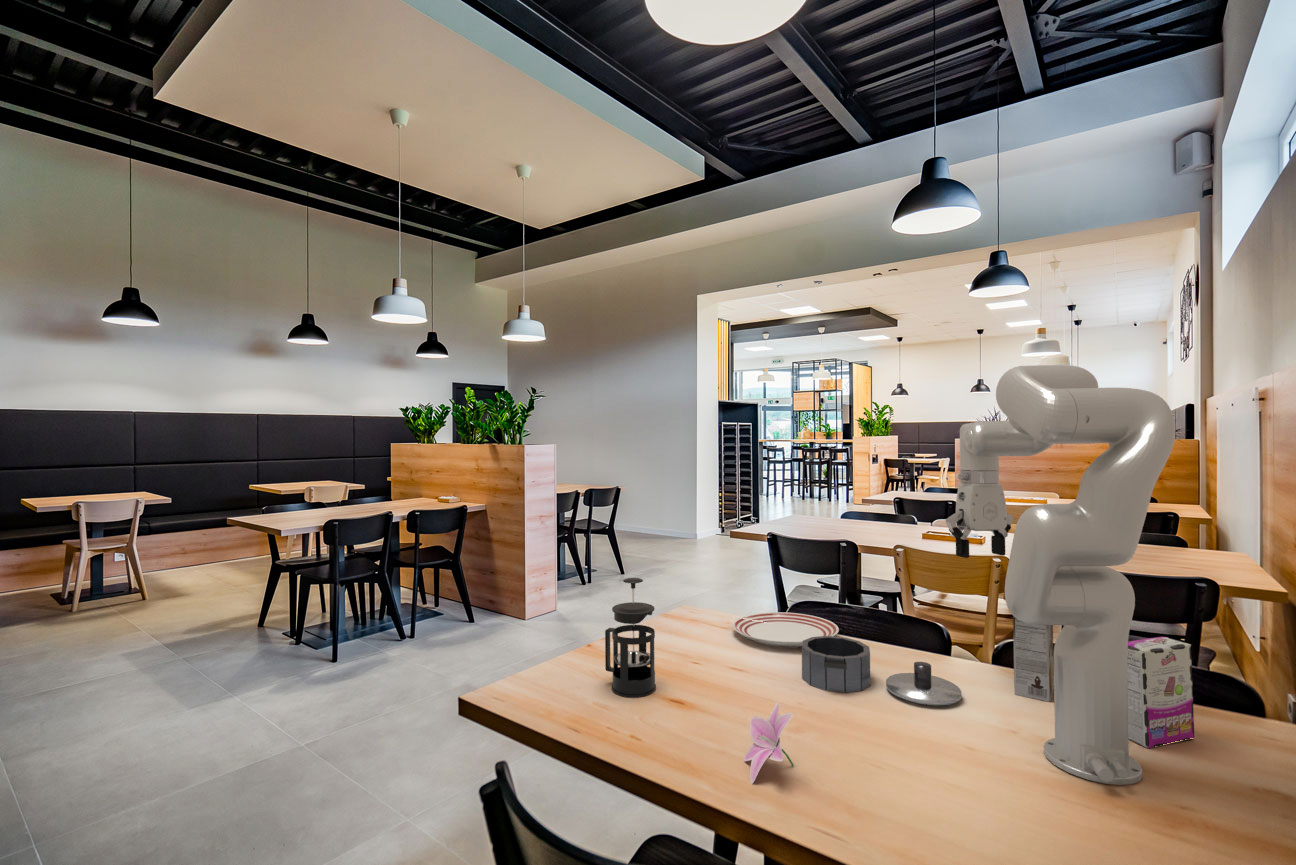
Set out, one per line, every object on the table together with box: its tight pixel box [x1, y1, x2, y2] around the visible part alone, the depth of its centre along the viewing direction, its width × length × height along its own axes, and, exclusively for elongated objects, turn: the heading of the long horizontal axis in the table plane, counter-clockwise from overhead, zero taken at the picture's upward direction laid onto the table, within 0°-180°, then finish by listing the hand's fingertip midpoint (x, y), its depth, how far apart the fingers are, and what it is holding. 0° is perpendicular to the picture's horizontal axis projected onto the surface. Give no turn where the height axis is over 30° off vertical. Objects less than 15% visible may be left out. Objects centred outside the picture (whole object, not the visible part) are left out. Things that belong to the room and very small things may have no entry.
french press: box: [604, 577, 657, 699], centre depth 127 cm, size 12×9×23 cm
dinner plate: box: [731, 611, 840, 649], centre depth 159 cm, size 27×27×3 cm
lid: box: [885, 661, 963, 706], centre depth 123 cm, size 14×14×6 cm
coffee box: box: [1012, 615, 1054, 703], centre depth 124 cm, size 9×6×16 cm
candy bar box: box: [1127, 636, 1196, 749], centre depth 104 cm, size 11×5×16 cm, turn 105°
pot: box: [801, 635, 871, 694], centre depth 131 cm, size 17×14×7 cm
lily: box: [743, 701, 795, 785], centre depth 95 cm, size 12×12×10 cm
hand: (980, 555), depth 133 cm, fingers open, 9 cm apart
